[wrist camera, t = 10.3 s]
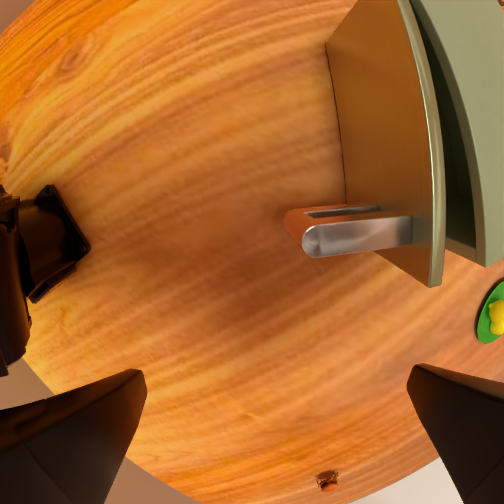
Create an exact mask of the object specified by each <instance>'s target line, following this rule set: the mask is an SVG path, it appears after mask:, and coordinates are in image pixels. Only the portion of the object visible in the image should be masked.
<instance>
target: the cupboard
mask: <svg viewBox="0 0 504 504" xmlns="http://www.w3.org/2000/svg"><path fill="white" fill-rule="evenodd" d="M409 2H410V4H411V7H412V10H413V12H414V15H415V18H416V21H417V24H418V27H419V30H420V33H421V37H422V40H423V43H424V47H425V51H426V54H427V58H428V62H429V66H430V70H431V75H432V79H433V84H434V89H435V94H436V100H437V105H438V111H439V118H440V125H441V133H442V142H443V152H444V165H445V184H446V233H445V249H447V250H449V251H451V252H453V253H456V254H458V255H460V256H462V257H464V258H466V259H468V260H471V261H473V262H475V263H477V264H479V265H481V266H483V267H485V268H486V267H488V266H490V265H492V264H494V263H496V262H497V261H499V260H501V259H503V258H504V12H503V10H502V8H501V6H500V4H499V2H498V0H409Z"/></svg>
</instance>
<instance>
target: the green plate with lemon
mask: <svg viewBox="0 0 504 504" xmlns="http://www.w3.org/2000/svg"><path fill="white" fill-rule="evenodd" d="M503 333H504V281H503V282H501V283H500V284H499V285H498V286H497V287H496V288H495V289H494V290H493V292H492V293H491V295H490V296H489V298H488V300H487V301H486V303H485V305H484V307H483V310H482V312H481V315H480V318H479V322H478V328H477V334H478V338H479V340H480V341H481V342H482V343H485V344H486V343H490V342H493V341H494V340H496V339H497V338H498V337H499V336H501V334H503Z"/></svg>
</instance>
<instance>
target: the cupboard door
mask: <svg viewBox="0 0 504 504" xmlns="http://www.w3.org/2000/svg"><path fill="white" fill-rule="evenodd" d="M325 45H326V50H327V54H328V59H329V64H330V70H331V75H332V81H333V87H334V93H335V99H336V105H337V112H338V119H339V127H340V135H341V143H342V152H343V161H344V172H345V183H346V197H347V204H340V205H330V206H320V207H310V208H300V209H292V210H290V211H288V212H287V213H286V214H285V216H284V218H283V225H284V227H285V229H286V230H287V231H288V233H289V234H290V235H291V236H292V237H293V239H294V240H295V241H296V242H297V244H298V245H299V246H300V247H301V248H302V250H303V251H304V252H305V253H306V254H307V255H308V256H310V257H312V258H322V257H330V256H337V255H344V254H351V253H359V252H366V251H374V252H375V253H377V254H379V255H380V256H382V257H383V258H385V259H386V260H388V261H389V262H391V263H392V264H394V265H395V266H397V267H399V268H400V269H402V270H403V271H405V272H406V273H408V274H409V275H411V276H412V277H413V278H415V279H416V280H418V281H419V282H421V283H422V284H424V285H425V286H427V287H428V288H431V287H435V286H439V285H441V284H442V276H443V265H444V252H445V233H446V184H445V165H444V152H443V142H442V133H441V125H440V118H439V111H438V105H437V100H436V94H435V89H434V84H433V79H432V75H431V70H430V66H429V62H428V58H427V54H426V51H425V47H424V43H423V40H422V37H421V33H420V30H419V27H418V24H417V21H416V18H415V15H414V12H413V10H412V7H411V4H410V2H409V0H358V1H357V3H356V4H355V5H354V6H353V8H352V9H351V10H350V11H349V13H348V14H347V15H346V17H345V18H344V19H343V21H342V22H341V23H340V25H339V26H338V27H337V28H336V30H335V31H334V32H333V34H332V35H331V36H330V38H329V39H328V41H327V42H326V43H325Z"/></svg>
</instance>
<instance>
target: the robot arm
mask: <svg viewBox="0 0 504 504" xmlns="http://www.w3.org/2000/svg"><path fill="white" fill-rule="evenodd" d="M49 188H50V190H51V192H50V193H49ZM83 246H84V247H85V248H86V251H84V250H83ZM90 250H91V248H90V245H89V243H88V241H87V240H86V238H85V237H84V235H83V234H82V232H81V230H80V229H79V227H78V226H77V224H76V222H75V221H74V219H73V217H72V216H71V214H70V212H69V211H68V209H67V207H66V206H65V204H64V202H63V200H62V199H61V197H60V195H59V193H58V191H57V190H56V188H55V186H54V185H52V184H50V185H46V186H45V187H44V188H43V190H42V191H41V192H40V193H39V194H38V195H37V196H36V197H35V198H31V199H26V200H22V201H20V197H19V196H12V194H7V193H6V192H5V190H4V188H3V186H2V185H0V377H3V376H7V375H8V374H9V372H8V369H7V368H8V367H9V366H11V365H12V364H14V363H15V362H17V361H18V360H19V359H20V358H21V357H22V356H23V355H24V354H25V353H26V348H25V346H26V345H27V342H28V340H29V337H30V327H31V325H32V320H31V316H29V312H28V306H27V300H28V299H30V300H31V302H32V303H34V304H36V303H37V302H39V301H40V300H41V299H43V298H44V297H45V296H46V295H48V294H49V293H50V292H52V291H53V290H54V289H56V288H57V287H58V286H60V285H61V284H62V283H63V282H64V281H65V280H67V279H68V278H69V277H70V276H71V275H72V274H73V273H75V272H76V270H77V267H76V264H77V263H78V262H79V261H80V260H81V259H82V258H84V257H85V256H86V255H87V254H88V253H89V252H90ZM407 391H408V394H409V396H410V398H411V401H412V403H413V405H414V408H415V410H416V412H417V415H418V417H419V419H420V421H421V423H422V425H423V426H424V428H425V430H426V432H427V434H428V435H429V437H430V439H431V441H432V443H433V444H434V446H435V448H436V450H437V452H438V454H439V456H440V457H441V459H442V461H443V463H444V465H445V467H446V469H447V471H448V472H449V475H450V476H451V478H452V480H453V482H454V484H455V486H456V488H457V490H458V492H459V494H460V497H461V499H462V501H463V503H464V504H504V383H501V382H497V381H492V380H488V379H484V378H479V377H475V376H471V375H467V374H463V373H459V372H455V371H451V370H447V369H443V368H439V367H436V366H432V365H428V364H424V363H422V364H416V365H414V366H413V368H412V370H411V373H410V376H409V379H408V381H407ZM146 397H147V387H146V383H145V379H144V375H143V372H142V371H141V370H138V369H128V370H125V371H123V372H120V373H118V374H115V375H112V376H110V377H107V378H104V379H101V380H99V381H96V382H93V383H90V384H88V385H85V386H82V387H79V388H76V389H73V390H70V391H67V392H64V393H61V394H58V395H55V396H52V397H50V398H47V399H42V400H39V401H35V402H32V403H28V404H25V405H21V406H17V407H13V408H8V409H3V410H0V504H104V502H105V500H106V498H107V495H108V493H109V491H110V488H111V486H112V484H113V481H114V479H115V477H116V474H117V472H118V470H119V468H120V465H121V463H122V461H123V459H124V456H125V454H126V452H127V450H128V447H129V445H130V443H131V441H132V439H133V436H134V434H135V432H136V429H137V427H138V424H139V420H140V417H141V414H142V410H143V407H144V404H145V400H146Z"/></svg>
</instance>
